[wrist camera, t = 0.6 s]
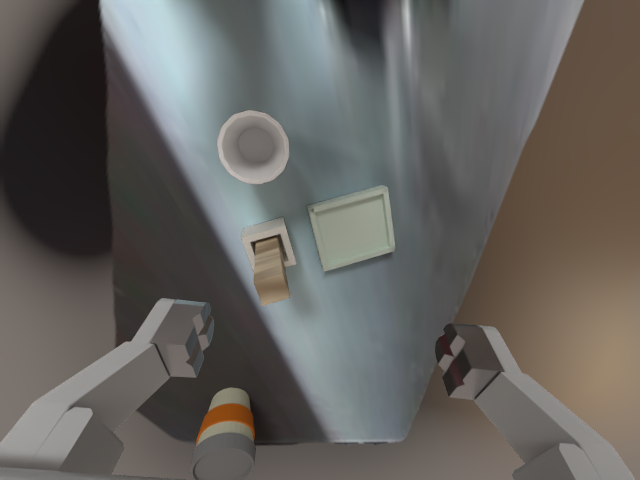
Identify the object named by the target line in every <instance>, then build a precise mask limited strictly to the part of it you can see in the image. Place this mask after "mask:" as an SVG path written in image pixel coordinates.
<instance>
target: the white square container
mask: <svg viewBox="0 0 640 480" xmlns="http://www.w3.org/2000/svg"><path fill="white" fill-rule="evenodd" d="M274 235H278V238H279V241H280V244H281V248H282V253H283V259H284V265H285V268H286V267H289V266H293V265H296V260H295V257H294V253H293V249H292V246H291V242H290V239H289V236H288V232H287V229H286V225H285V222H284V218H283V217H282V218H278V219H275V220H271V221H267V222H264V223H260V224H256V225H253V226H249V227H245V228H243V231H242V236H241V239H242V242H243V245H244V247H245V250H246V253H247V255H248V258H249V261H250V264H251V266H252V269H253V272H254V266H255V249H256V240H260V239H263V238H267V237H270V236H274Z"/></svg>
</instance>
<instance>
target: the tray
mask: <svg viewBox="0 0 640 480" xmlns="http://www.w3.org/2000/svg"><path fill="white" fill-rule="evenodd" d="M307 210H308V214H309V218H310V222H311V226H312V230H313V234H314V238H315V242H316V246H317V250H318V254H319V258H320V262H321V266H322V268H323V271H324V272H326V271H329V270H332V269H336V268H339V267H343V266H346V265H349V264H353V263H356V262H359V261H363V260H366V259H369V258H373V257H376V256H380V255H383V254H386V253H390V252H393V251H396V249H395V241H394V233H393V225H392V217H391V209H390V201H389V193H388V187H386V186H384V185H380V186H377V187H373V188H369V189H366V190H362V191H358V192H355V193H351V194H347V195H344V196H340V197H336V198H333V199H329V200H325V201H322V202H318V203H314V204H311V205H307Z"/></svg>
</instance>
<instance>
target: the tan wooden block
mask: <svg viewBox="0 0 640 480" xmlns="http://www.w3.org/2000/svg"><path fill="white" fill-rule="evenodd" d="M254 285H255V287H256V290H257V293H258V295H259V298H260V301H261V303H262V306H264V305H267V304H270V303H274V302H277V301H280V300H284V299H287V298H290V294H289V288H288V282H287V276H286V270H285V265H284V259H283V253H282V248H281V244H280V241H279V238H278V235H274V236H270V237H267V238H263V239H260V240H256V249H255V266H254Z"/></svg>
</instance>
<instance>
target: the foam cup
mask: <svg viewBox="0 0 640 480" xmlns="http://www.w3.org/2000/svg"><path fill="white" fill-rule="evenodd" d="M217 147H218V152H219V158H220V161H221V162H222V164H223V165H224V167H225V168H226V170H227V171H228V172H229V174H231V175H232V176H234V177H235V178H237V179H239V180H240V181H242V182H244V183H251V184H258V185H259V184H262V183H266V182H269V181H272V180H274V179H275V178H276V177H277V176H278V175H279V174H280V173H281V172H282V171H283V170H284V169H285V166H286V163H287V161H288V158H289V155H290V154H289V142H288V137H287V136H286V134H285V132H284V130H283V128H282V126H281V125H280V123H278V122H277V121H276V120H274V119H273V118H272V117H270V116H269V115H268V114H267V113H262V112H258V111H253V110H247V111H244V112H240V113H237V114H233V115H232V116H231V117H230V118H229V119H228V120H227V121H226V122H225V123H224V124H223V125H222V127H221V130H220V133H219V137H218V140H217Z"/></svg>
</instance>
